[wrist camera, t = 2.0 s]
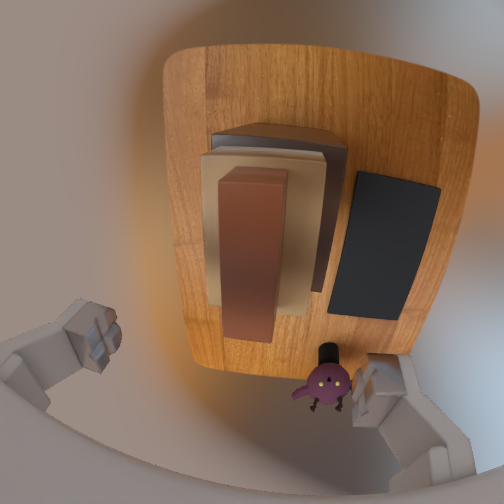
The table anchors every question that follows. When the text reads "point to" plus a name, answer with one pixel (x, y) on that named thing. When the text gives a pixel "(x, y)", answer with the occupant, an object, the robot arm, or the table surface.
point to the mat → (382, 246)
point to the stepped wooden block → (260, 234)
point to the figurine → (326, 379)
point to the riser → (305, 141)
